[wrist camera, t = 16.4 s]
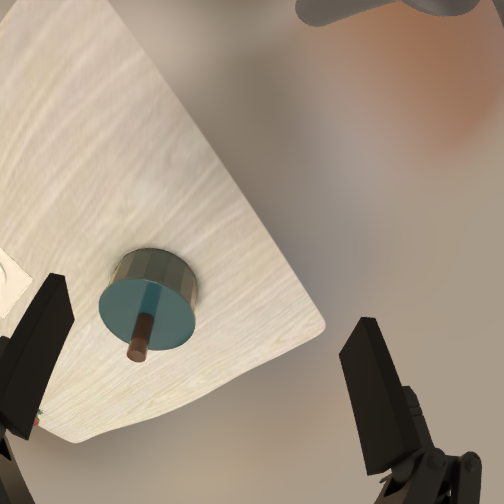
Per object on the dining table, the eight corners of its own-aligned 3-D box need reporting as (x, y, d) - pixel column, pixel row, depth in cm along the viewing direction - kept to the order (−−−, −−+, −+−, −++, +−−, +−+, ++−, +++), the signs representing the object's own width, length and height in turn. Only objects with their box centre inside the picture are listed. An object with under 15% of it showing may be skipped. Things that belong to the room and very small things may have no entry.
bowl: (141, 232, 45) (128, 261, 38) (213, 280, 50) (211, 313, 44) (103, 285, 50) (90, 316, 44) (167, 324, 55) (162, 356, 49)
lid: (128, 254, 38) (109, 297, 32) (216, 310, 44) (214, 355, 38) (87, 313, 44) (71, 353, 37) (163, 356, 50) (157, 396, 43)
